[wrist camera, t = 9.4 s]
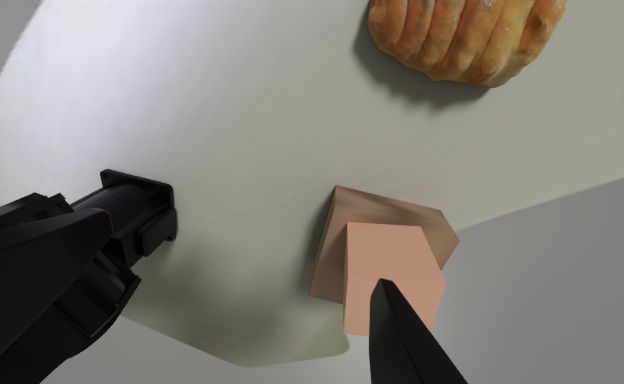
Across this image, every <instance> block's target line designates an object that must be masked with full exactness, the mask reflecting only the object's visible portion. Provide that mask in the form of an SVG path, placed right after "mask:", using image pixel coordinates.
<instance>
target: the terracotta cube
mask: <svg viewBox="0 0 624 384" xmlns="http://www.w3.org/2000/svg"><path fill="white" fill-rule="evenodd" d="M380 278H384V279H388V280H392V281H393V282H394V283H395V284H396V286H397V287H398V288H399V290H400V291H401V292H402V294H403V295H404V297H405V298H406V299H407V301H408V302H409V303H410V305H411V306H412V308H413V309H414V310H415V312H416V313H417V314H418V316H419V317H420V319H421V320H422V321H423V323H424V324H425V325H426V327H427V328H428V329H429V331H430V329H431V326H432V323H433V320H434V317H435V315H436V311H437V309H438V306H439V303H440V300H441V297H442V294H443V291H444V288H445V284H446V282H445V279H444V277H443V275H442V273H441V271H440V268H439V266H438V264H437V262H436V260H435V257H434V255H433V253H432V251H431V249H430V246H429V244H428V242H427V240H426V238H425V235H424V233H423V231H422V229H421V227H420V226H405V225H388V224H372V223H355V222H347V234H346V248H345V262H344V296H343V333H345V334H355V335H364V336H369V321H370V298H371V294H372V292H373V290H374V288H375V286H376V284H377V282H378V280H379V279H380Z"/></svg>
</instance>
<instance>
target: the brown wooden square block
mask: <svg viewBox="0 0 624 384" xmlns="http://www.w3.org/2000/svg"><path fill="white" fill-rule="evenodd" d="M347 222H355V223H372V224H388V225H405V226H420V227H421V229H422V231H423V233H424V235H425V238H426V240H427V242H428V244H429V246H430V249H431V251H432V253H433V255H434V257H435V260H436V262H437V264H438V266H439V268H440V271H441V270H442V268H443V267H444V265H445V263H446V262H447V260H448V259H449V257H450V256H451V254H452V252H453V251H454V249H455V248H456V246H457V244H458V243H459V241H460V240H459V239H458V237H457V236H456V234H455V232H454V231H453V229H452V228H451V226H450V225H449V223H448V221H447V220H446V218H445V217H444V215H443V214H442V212H441V211H440V210H436V209H432V208H427V207H423V206H419V205H415V204H411V203H407V202H403V201H399V200H395V199H390V198H386V197H382V196H378V195H374V194H370V193H366V192H362V191H358V190H353V189H349V188H345V187H341V186H337V185H336V187H335V191H334V194H333V198H332V201H331V204H330V208H329V211H328V215H327V218H326V222H325V225H324V229H323V232H322V236H321V239H320V242H319V246H318V249H317V253H316V256H315V260H314V263H313V270H312V276H311V283H310V289H309V296H313V297H317V298H321V299H325V300H329V301H333V302H337V303H341V304H343V296H344V262H345V248H346V234H347Z"/></svg>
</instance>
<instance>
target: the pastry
mask: <svg viewBox="0 0 624 384" xmlns="http://www.w3.org/2000/svg"><path fill="white" fill-rule="evenodd" d="M566 5H567V0H371V2H370V7H369V15H368V28H369V31H370V33H371V35H372V37H373V39H374V41H375V43H376V45H377V48H378V49H379V50H381V51H383V52H385V53H387V54H389V55H391V56H393V57H395V58H396V59H397V60H398V61H400V62H401V63H402V64H403V65H404V66H407V67H409V68H411V69H415V70H418V71H420V72H423V73H424V74H426V75H427V76H428V77H429V78H430V79H432V80H434V81H442V80H452V81H457V82H467V83H469V84H471V85H486V86H487V87H490V88H495V87H498V86H501V85H503V84H505V83H506V82H507V81H508V80H509V79H510V78H512V77H514V76H516V75H518V74H519V73H520V71H521V70H522V69H523V68H524V67H525V66H527V65H528V64H530V63H531V62H532V61H533V60H534V59H535V58H536V57H537V56H538V55H539V54H540V53H541V52H542V50H543V48H544V47H545V45H546V43H547V42H548V40H549V39H550V37H551V36H552V34H553V32H554V30H555V29H556V27H557V25H558V23H559V21H560V19H561V17H562V15H563V13H564V12H565V10H566Z"/></svg>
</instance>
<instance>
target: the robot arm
mask: <svg viewBox="0 0 624 384" xmlns="http://www.w3.org/2000/svg"><path fill="white" fill-rule="evenodd" d="M100 176H101V181H102V185H103V187H102V188H100V189H99V190H97V191H95V192H93V193H91V194H89V195H87V196H85V197H83V198H81V199H79V200H77V201H76V202H74V203H72V204H70V205H69V204H68V203H67V202H66V201H65V197H64V196H63V195H62V194H61V193H58V194H56V195H54V196H52V197H50V198H48V197H47V196H43V195H40V194H38V193H32V194H30V195H28V196H25V197H23V198H20V199H18V200H16V201H13V202H11V203H8V204H6V205H3V206H1V207H0V384H40V383H41V382H42V381H43V380H44V379H45V378H46V377H47V376H48V375H49V374H50V373H51V372H52V371H53V370H55V369H56V368H57V367H58V366H59V365H60V364H62V363H63V362H64V361H65V360H66V359H69V358H71V357H73V356H75V355H77V354H79V353H80V352H82V351H84V350H85V349H86V348H88V347H89V346H90V345H92V344H93V343H94V342H95V341H96V340H98V339H99V338H100V337H101V336H102V335H103V334H104V333H105V332H106V331H107V330H108V329H109V328H110V327H111V326H112V325H113V323H114V322H115V321H116V319H117V318H118V316H119V315H120V313H121V312H122V310H123V308H124V307H125V305H126V304H127V302H128V301H129V299H130V298H131V296H132V294H133V293H134V291H135V290H136V288H137V287H138V285H139V284H140V282H141V278H140V277H139V276H138V275H135V274H134V273H133V272H132V271H131V270H130V268H131V267H132V266H133V265H134V264H135V263H136V262H137V261H138V260H139V259H140V258H141V257H143V256H144V257H147V256H149V255H150V254H151V253H152V252H153V251H154V250H155V249H156V248H157V247H158V246H159V245H160V244H161V243H162V242H163V241H164V240H166V241H173V240H174V239H175V238H176V231H175V229H176V220H175V208H174V201H173V189H172V187H171V186H170V185H169V184H166V183H162V182H158V181H154V180H150V179H146V178H142V177H138V176H134V175H129V174H125V173H121V172H117V171H113V170H109V169H106V170H103V171H101V172H100ZM165 188H166V189H167V190H166V189H165ZM369 359H370V371H371V384H468V383H467V382H466V380H465V379H464V378H463V376H462V375H461V373H460V372H459V371H458V370H457V368H456V366H455V365H454V364H453V362H452V361H451V360H450V359H449V357H448V356H447V354H446V353H445V351H444V350H443V349H442V347H441V346H440V345H439V343H438V342H437V340H436V339H435V338H434V336H433V335H432V334H431V332H430V331H429V329H428V328H427V327H426V325H425V324H424V323H423V321H422V320H421V319H420V317H419V316H418V314H417V313H416V312H415V310H414V309H413V308H412V306H411V305H410V303H409V302H408V301H407V299H406V298H405V297H404V295H403V294H402V292H401V291H400V290H399V288H398V287H397V286H396V284H395V283H394V282H393V281H392V280H388V279H384V278H380V279H379V280H378V282H377V284H376V286H375V288H374V290H373V292H372V294H371V298H370V321H369Z"/></svg>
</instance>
